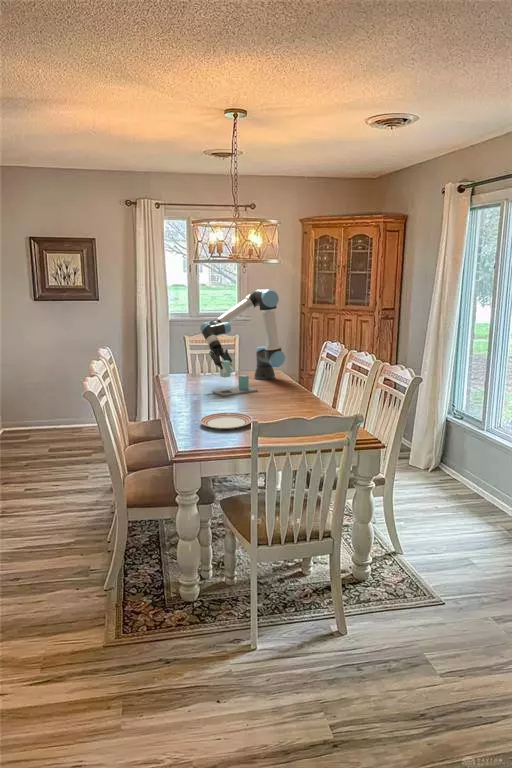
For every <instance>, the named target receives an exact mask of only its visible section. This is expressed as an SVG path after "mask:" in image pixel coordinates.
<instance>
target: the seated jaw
mask: <svg viewBox="0 0 512 768" xmlns="http://www.w3.org/2000/svg"><path fill="white" fill-rule="evenodd" d="M249 385H250V383H249V375H247V374H241V375H238V387H239V389H241V390H246V389H249V387H250V386H249Z"/></svg>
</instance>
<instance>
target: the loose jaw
mask: <svg viewBox="0 0 512 768" xmlns="http://www.w3.org/2000/svg"><path fill="white" fill-rule="evenodd" d="M220 361H221V363H222V364H223V366H224V367H225V369H226V371H227V372H226V373H225V374H224V373H223V371H222V369H220V368H219V369H220V371H219V372H220V373H219V375H220V378H221V377H222V378H224V379H225V378H230V377H231V373H230V361H227V360H224V359H223V360H220Z"/></svg>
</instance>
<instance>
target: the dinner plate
mask: <svg viewBox="0 0 512 768" xmlns="http://www.w3.org/2000/svg"><path fill="white" fill-rule="evenodd" d="M253 420H254V419H253V417H252V416H250V415H249V414H246V413H240V412H216V413H212V414H207V415H205V416H203V417H201V418H200V420H199V423H200V424H201V425H203V426H204V427H207V428H212V429H214V428H215V430H221V429H230V430H236V429H235V428H237V429H240V428H243V427H245V426H248V425H250V424H251V423H252V422H253ZM220 427H221V428H220Z"/></svg>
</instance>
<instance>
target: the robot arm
mask: <svg viewBox="0 0 512 768" xmlns="http://www.w3.org/2000/svg"><path fill="white" fill-rule="evenodd" d="M278 303H279V294H278V293H277V292H276V291H275V290H273V289H271V288H258V289H255V290H253V291H252V292H250V293H249V294H247V295H246V296H245V297H244V299H243V300H241V301H240V302H238V303H237V304H236V305H234V306H233V307H231V308H230V309H228V310H227V311H224V313H223V314H221V315H219V316H218V317H216V318H215V319H214V320H209V321H207V322H204V323H202V324H201V325H200V327H199V328H200V330H199V331H201V334H202V336H203V338H204V340H205V341H206V343H207V346H208V348H209V352H208V356H210V357H211V360H212V361H213V363H214V365H215V366H217V367H218V368H219V369H222V371H223V373H224V374H225V373H226V372H227V371H226V369H225V367H224V366H223V364H222V363H221V361H222V360H221V358H222V359H223V361H224V360H227V361H230V374H232V373H234V369H233V365H232V362H233V360H232V357H231V355H230V354H229V351H228V349H224V348H223V347H222V344H221V342H220V340H219V338H218V336H222V335H227V334H229V333H231V332H232V326H231V324H230V323H232V322H233V321H235V320H236V319H237V318H238V317H241V316H242V315H243V314H244V313H246V312H247V311H249V310H250V309H255V308H257V307H258V308H259V311H261V313H262V320H263V321H262V322H263V327H264V337H265V345H266V346H258V347H257V348H256V368H255V373H254V375H253V377H254V379H256V380H264V381H265V380H268V381H269V380H274V379H275V378H276V373H275V370H274V368H279V367H281V366H283V365H284V364H285V360H286V355H285V354H284V352H283V350H282V345H280V343H279V335H278V334H279V333H278V328H277V327H278V325H277V320H276V309H278V307H277V305H278ZM220 357H221V358H220Z"/></svg>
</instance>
